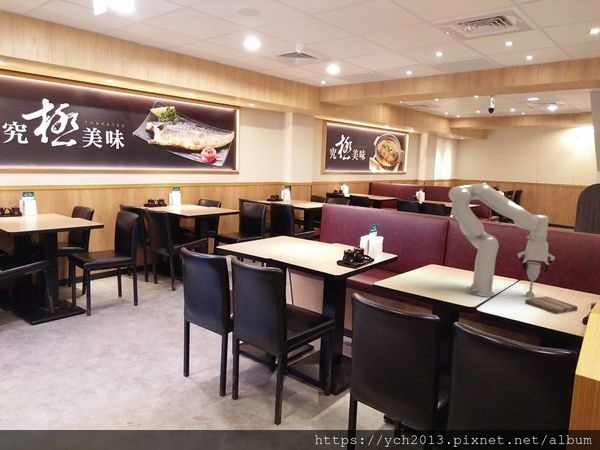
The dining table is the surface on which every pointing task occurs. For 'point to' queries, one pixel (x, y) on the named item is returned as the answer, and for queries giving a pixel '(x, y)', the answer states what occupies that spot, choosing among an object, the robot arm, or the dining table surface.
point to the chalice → (532, 276)
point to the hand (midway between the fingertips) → (534, 270)
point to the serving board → (551, 305)
